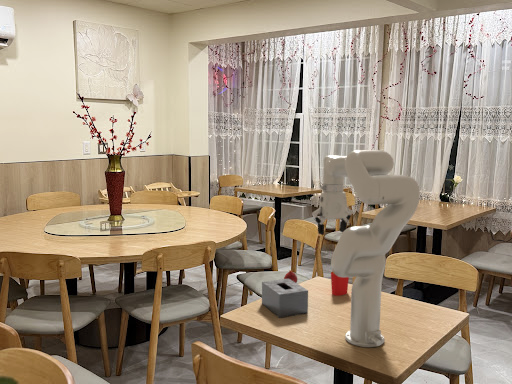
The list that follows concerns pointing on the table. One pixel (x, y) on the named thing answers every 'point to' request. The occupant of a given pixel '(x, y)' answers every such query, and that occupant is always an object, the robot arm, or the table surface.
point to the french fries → (339, 284)
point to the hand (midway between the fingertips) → (332, 233)
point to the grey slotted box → (284, 298)
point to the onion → (291, 276)
